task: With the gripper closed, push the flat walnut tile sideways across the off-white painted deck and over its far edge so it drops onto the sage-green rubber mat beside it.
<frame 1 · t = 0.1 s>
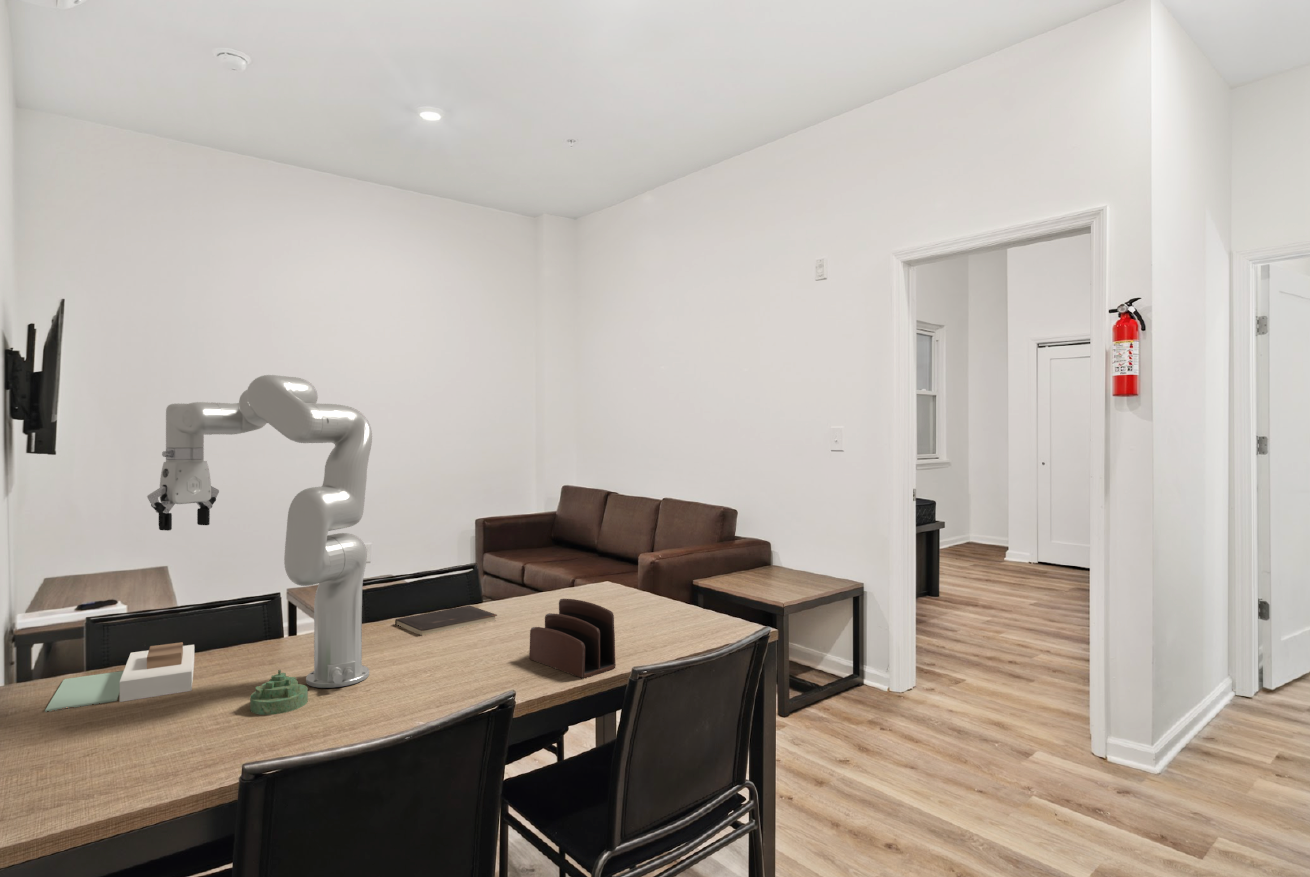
hand: (184, 527, 168), 31 cm above the table, tool pointing down, fingers open, 9 cm apart
mat: (89, 690, 147), on the table
walnut tile: (165, 655, 154), point 5 cm above the table, touching deck
letter holder: (571, 665, 165), on the table
deck: (159, 680, 153), on the table
hardcover book: (446, 625, 201), on the table
decorative artifact: (279, 706, 140), on the table
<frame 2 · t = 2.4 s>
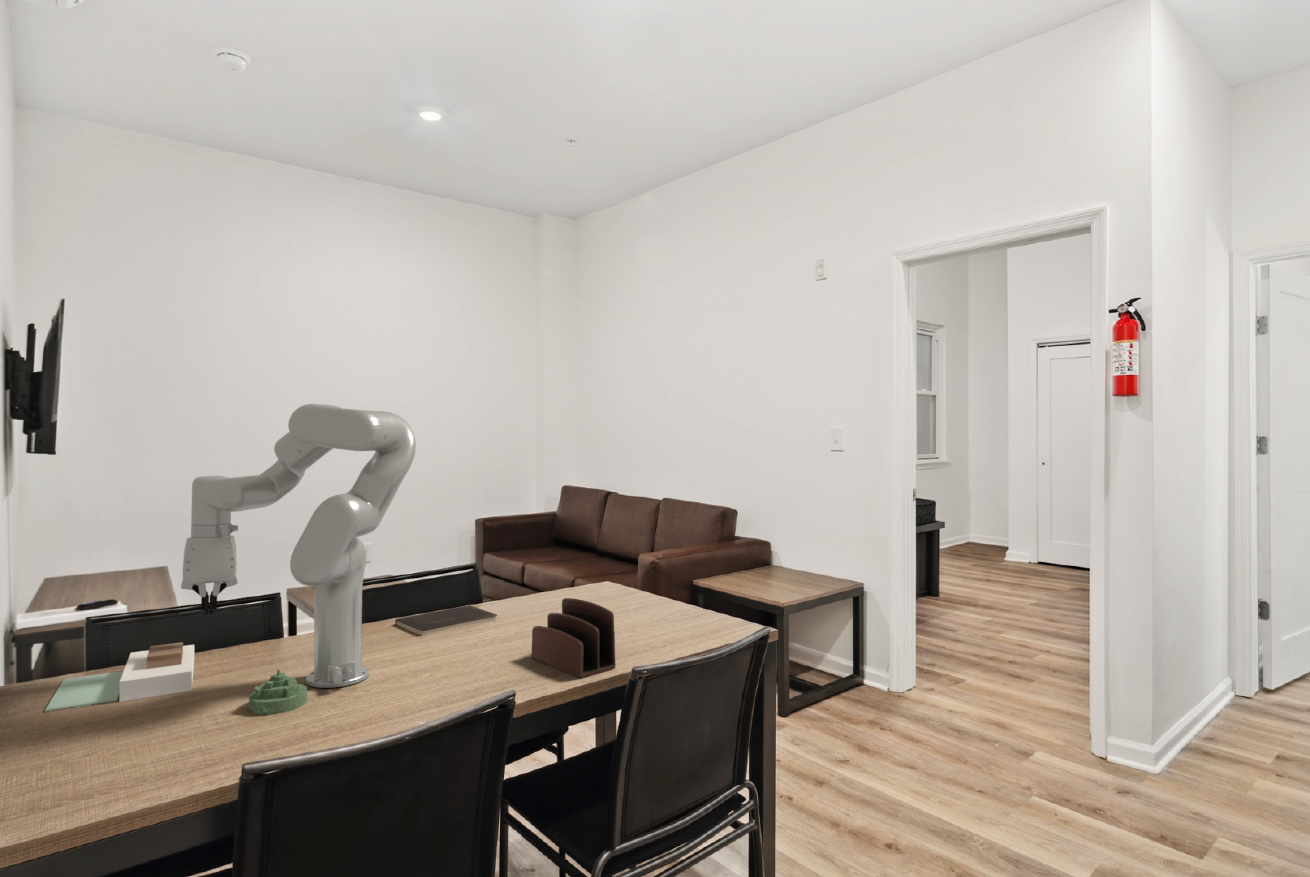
hand: (208, 613, 158), 13 cm above the table, tool pointing down, fingers closed
nothing on the table moved.
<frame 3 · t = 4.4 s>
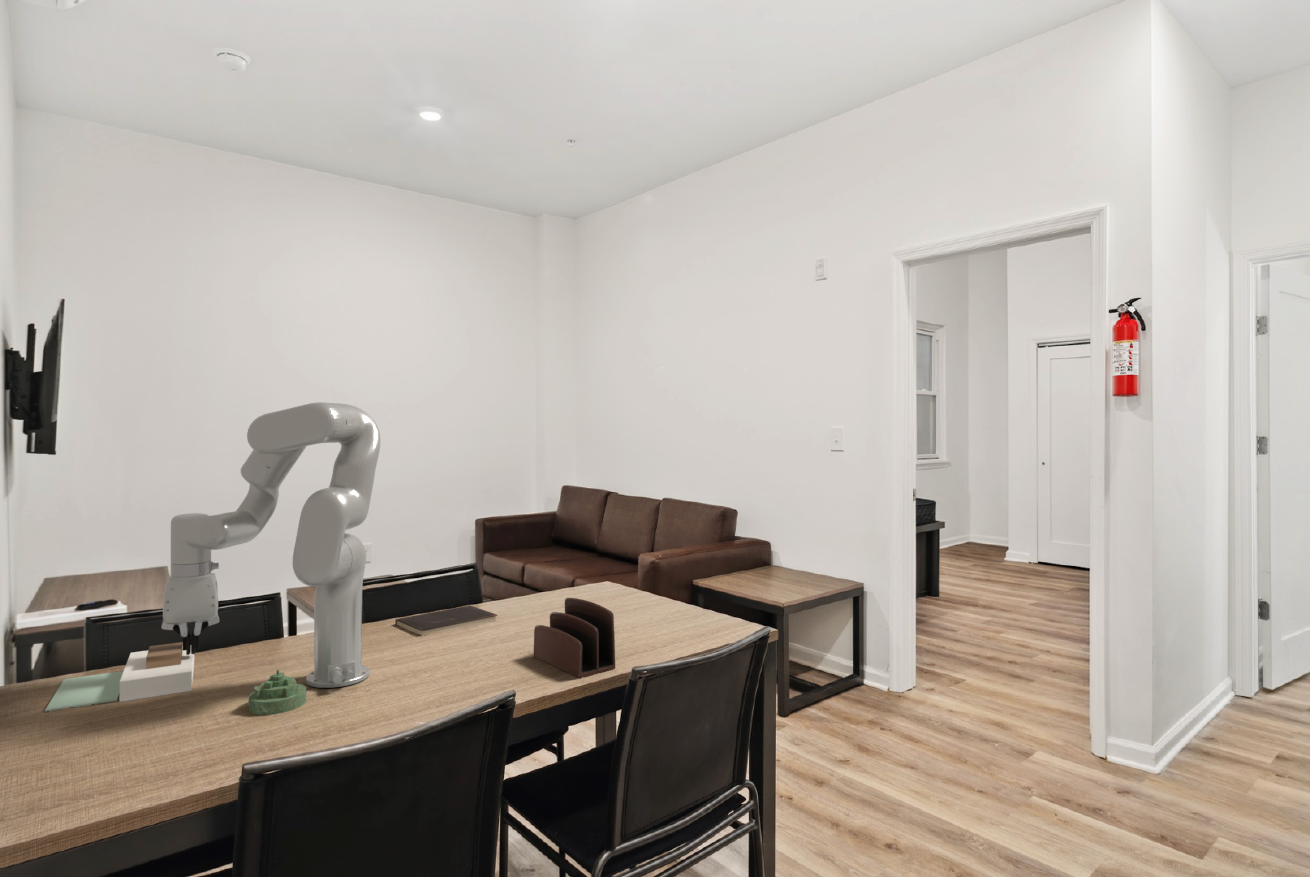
hand: (190, 652, 156), 5 cm above the table, tool pointing down, fingers closed
walnut tile: (165, 655, 154), point 5 cm above the table, touching deck, gripper
everything else where it was.
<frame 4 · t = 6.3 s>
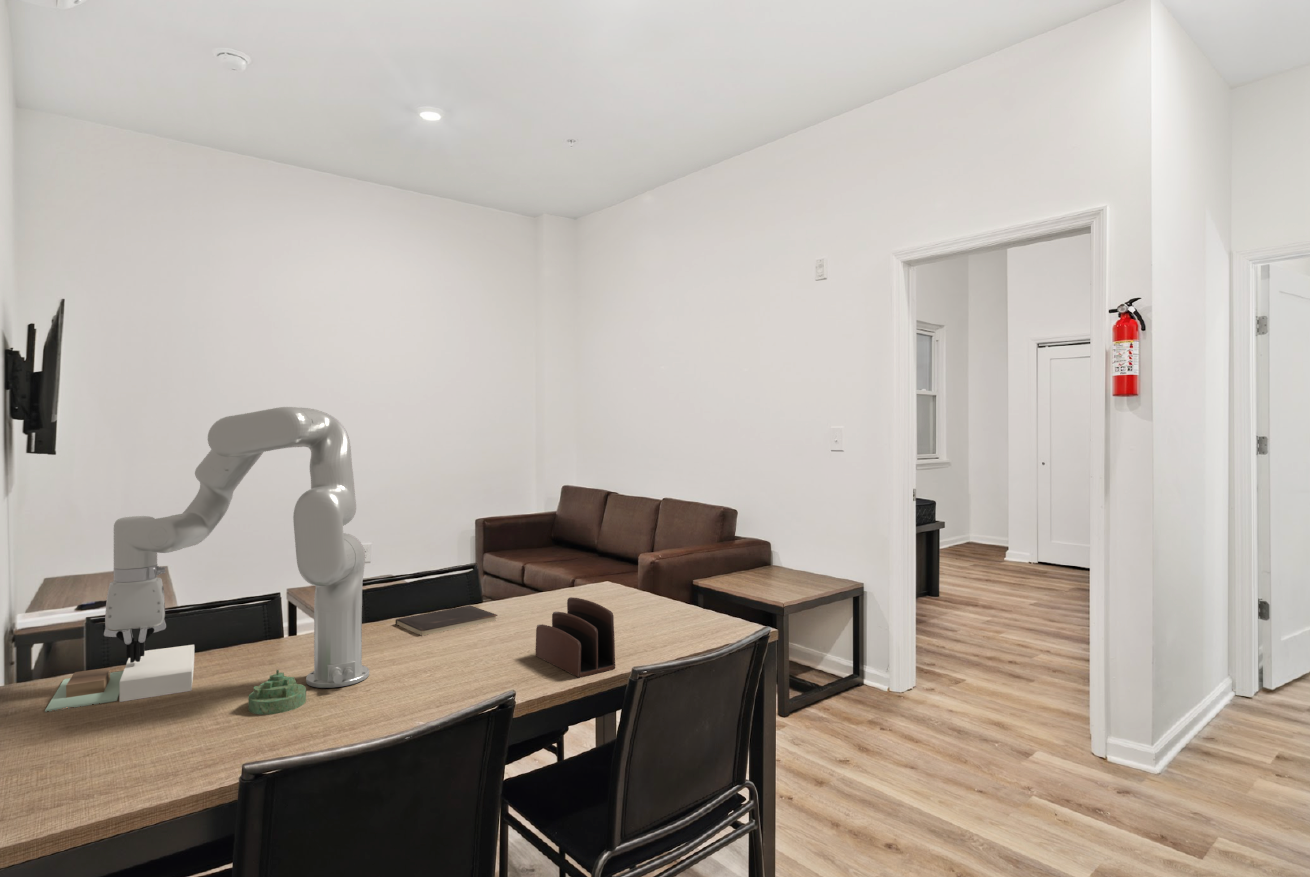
hand: (135, 660, 151), 5 cm above the table, tool pointing down, fingers closed
walnut tile: (88, 682, 147), point 2 cm above the table, tilted 180°, touching mat
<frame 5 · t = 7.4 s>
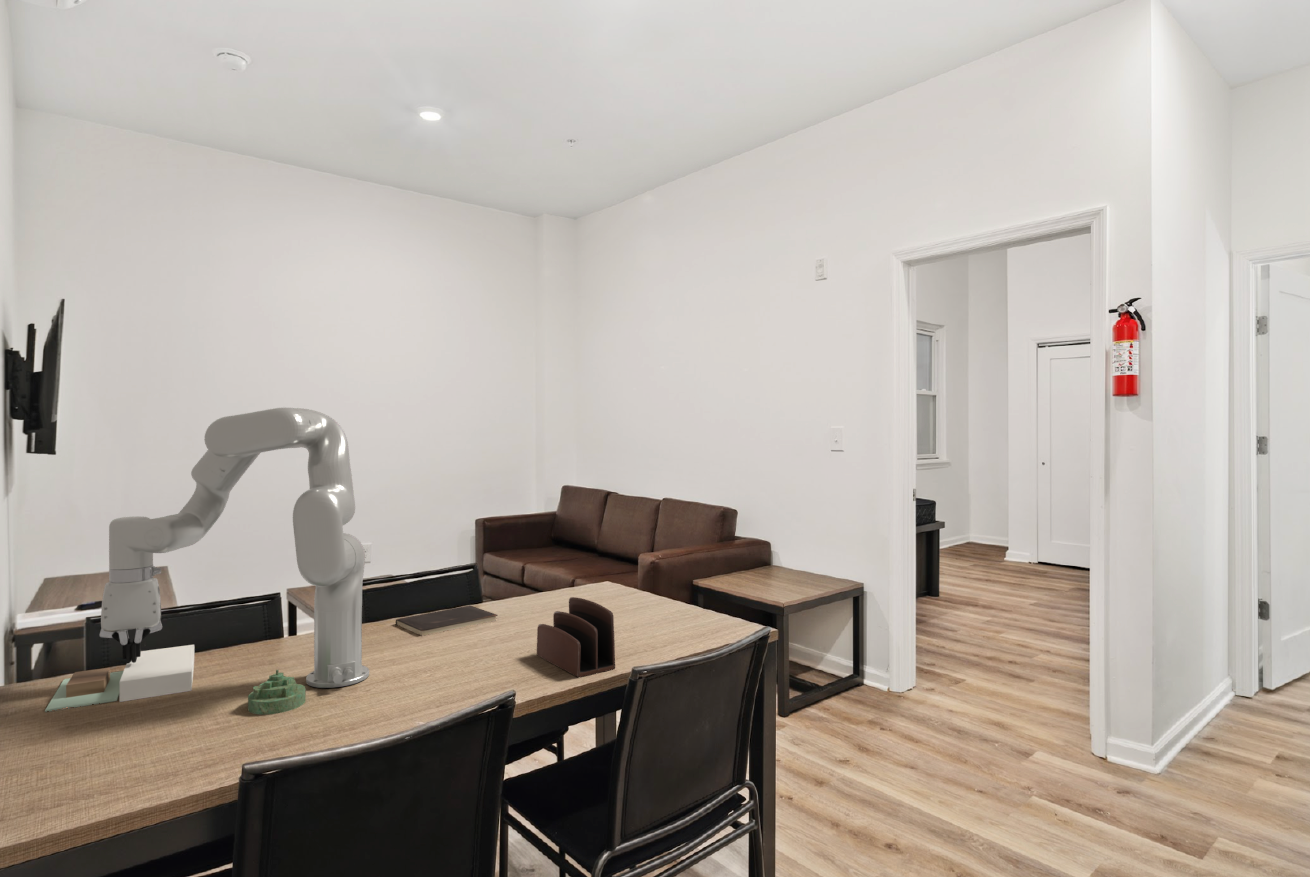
hand: (131, 661, 150), 5 cm above the table, tool pointing down, fingers closed
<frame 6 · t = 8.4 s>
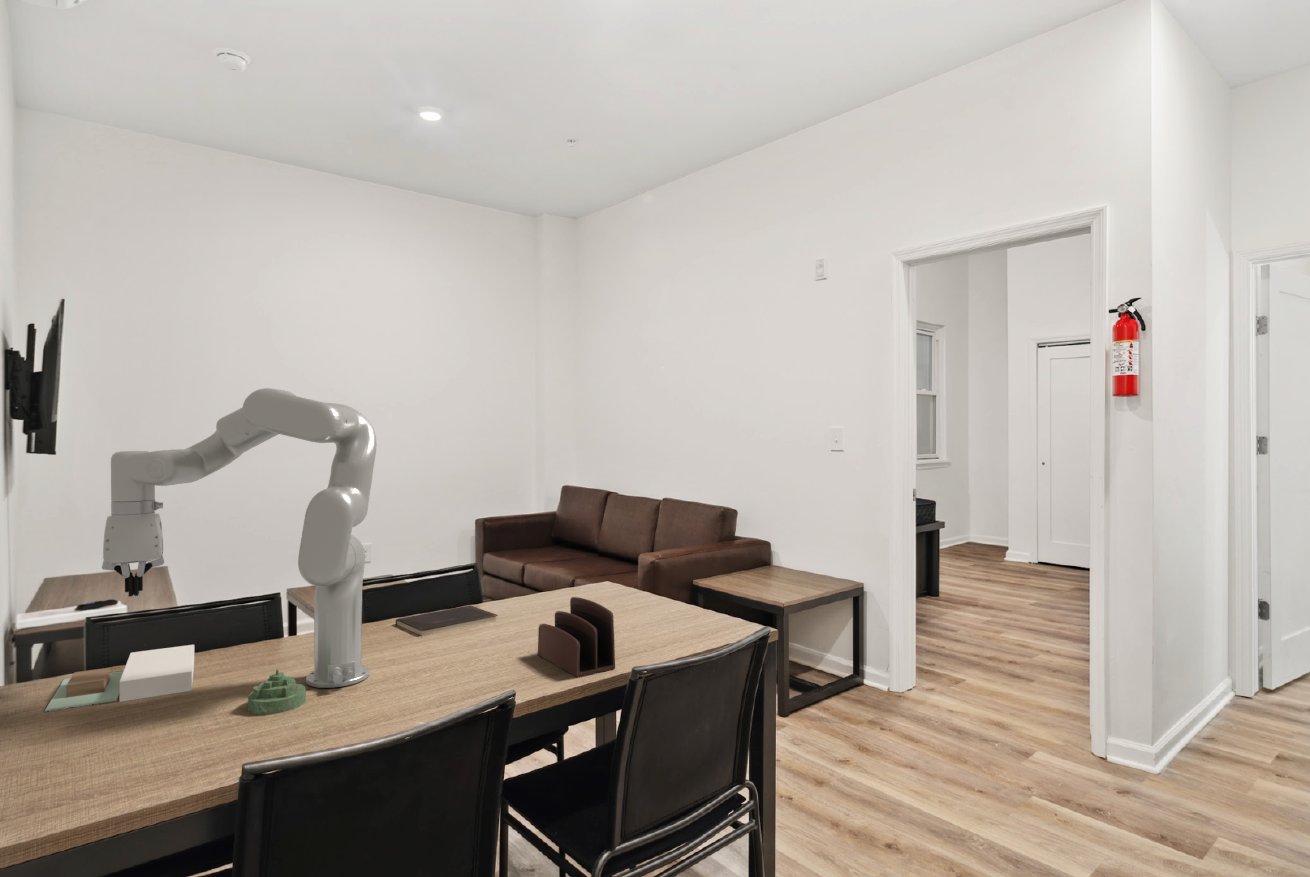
hand: (133, 594, 151), 19 cm above the table, tool pointing down, fingers closed
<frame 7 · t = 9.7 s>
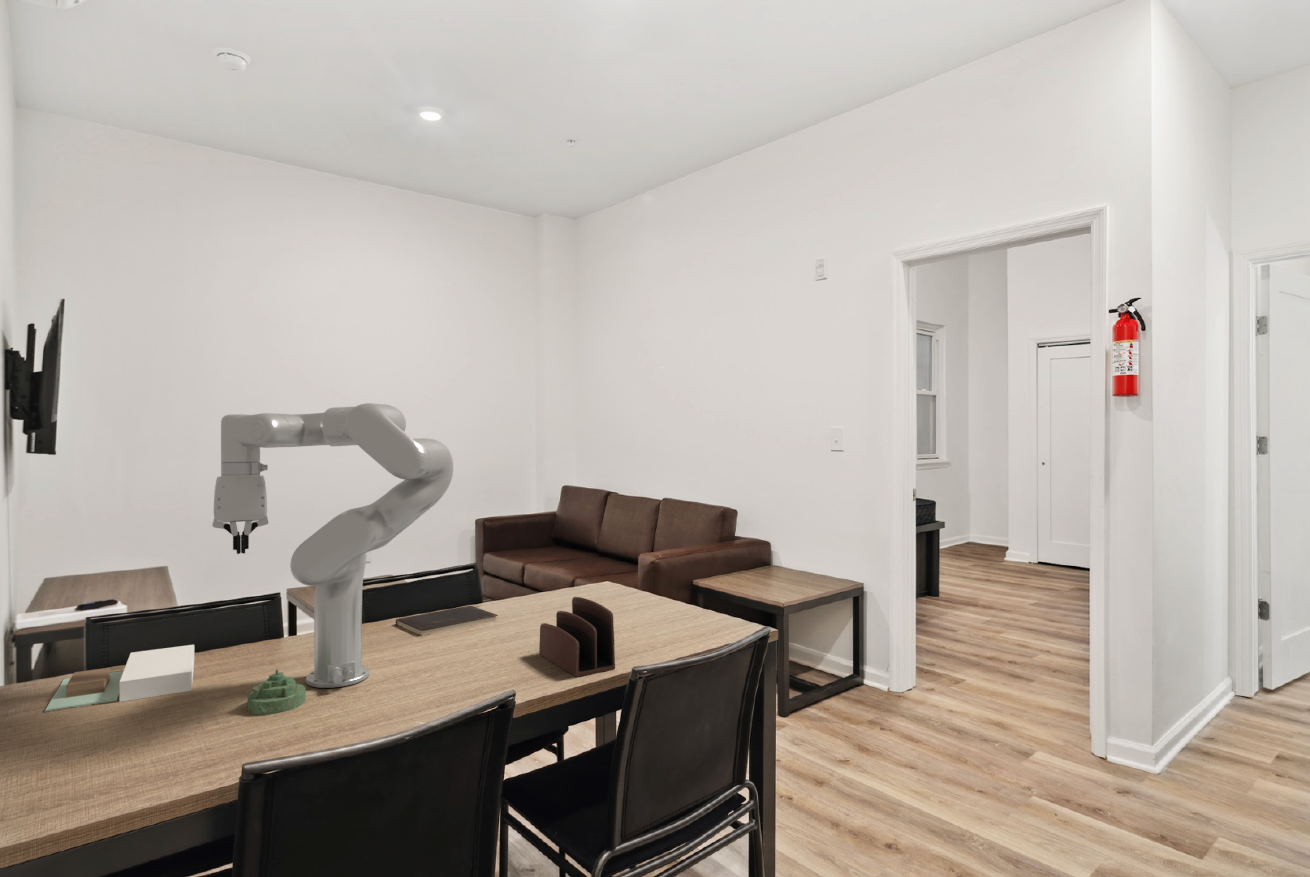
hand: (240, 552, 157), 27 cm above the table, tool pointing down, fingers closed
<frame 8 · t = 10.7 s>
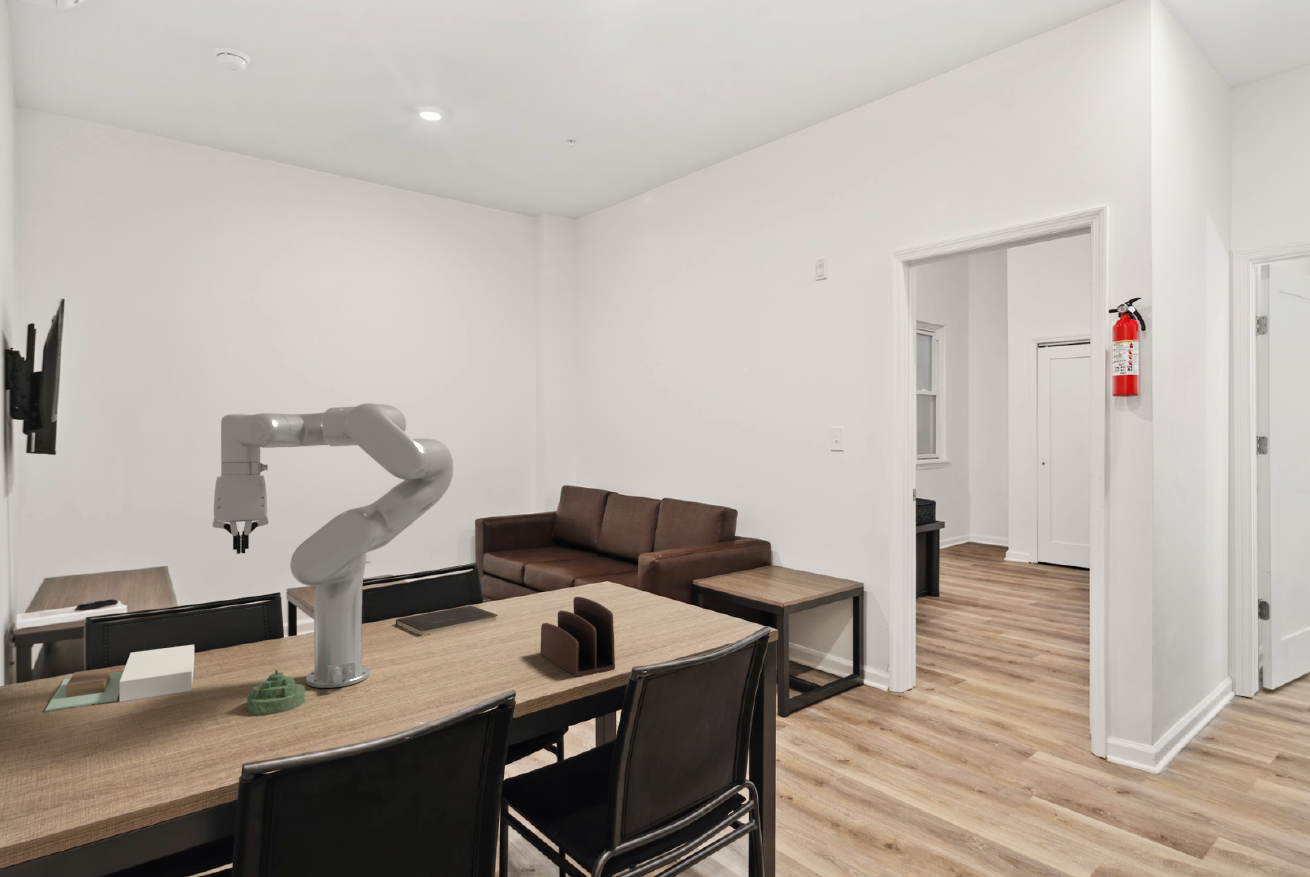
hand: (240, 552, 157), 27 cm above the table, tool pointing down, fingers closed
at the end: walnut tile inside the target area (0.4 cm from its centre), point 1.6 cm above the table; walnut tile point 1.6 cm above the table; walnut tile touching mat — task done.
